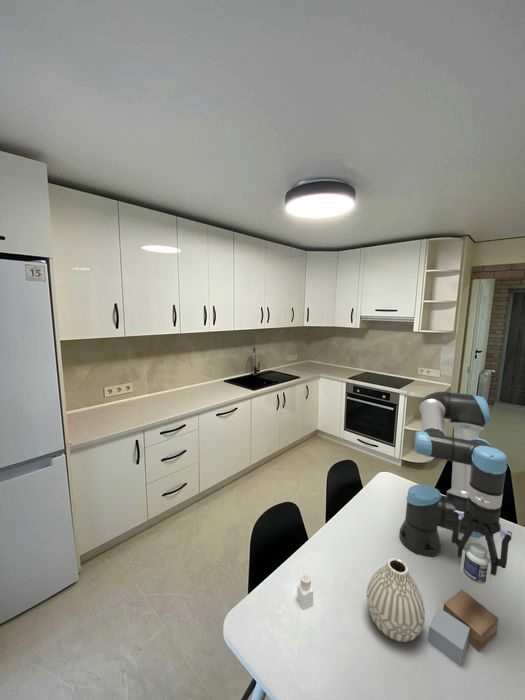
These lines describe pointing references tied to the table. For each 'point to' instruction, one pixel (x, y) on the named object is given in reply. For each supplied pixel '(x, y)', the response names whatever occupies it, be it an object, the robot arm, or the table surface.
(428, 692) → the table surface
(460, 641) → the slate block
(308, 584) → the pepper shaker
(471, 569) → the pill bottle
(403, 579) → the vase
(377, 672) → the table surface
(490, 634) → the walnut block
